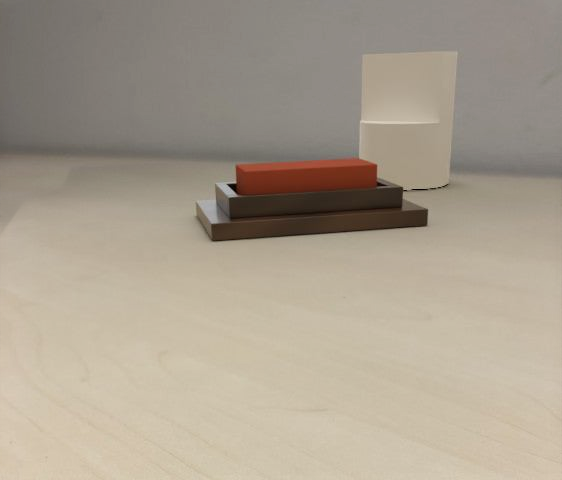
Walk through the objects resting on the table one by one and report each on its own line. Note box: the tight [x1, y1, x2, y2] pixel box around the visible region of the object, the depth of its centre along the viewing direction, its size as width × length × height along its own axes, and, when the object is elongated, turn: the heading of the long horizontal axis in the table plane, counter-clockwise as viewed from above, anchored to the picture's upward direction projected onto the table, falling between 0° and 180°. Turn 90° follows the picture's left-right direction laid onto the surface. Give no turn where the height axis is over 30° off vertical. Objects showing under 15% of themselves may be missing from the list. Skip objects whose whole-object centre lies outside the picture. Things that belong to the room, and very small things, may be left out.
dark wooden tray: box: [195, 177, 429, 242], centre depth 54 cm, size 16×10×3 cm, turn 102°
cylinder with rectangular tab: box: [358, 50, 459, 190], centre depth 69 cm, size 9×9×12 cm
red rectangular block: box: [235, 157, 377, 195], centre depth 54 cm, size 10×4×3 cm, turn 103°
